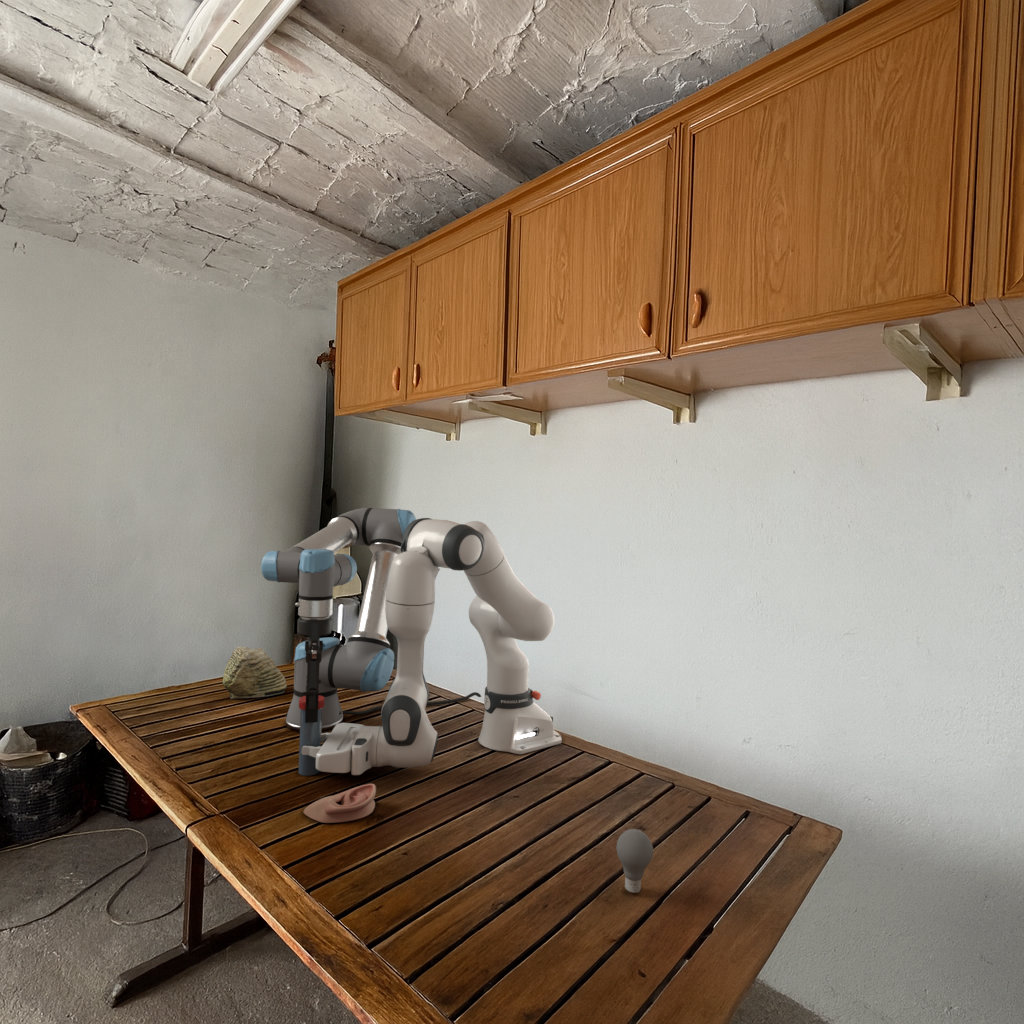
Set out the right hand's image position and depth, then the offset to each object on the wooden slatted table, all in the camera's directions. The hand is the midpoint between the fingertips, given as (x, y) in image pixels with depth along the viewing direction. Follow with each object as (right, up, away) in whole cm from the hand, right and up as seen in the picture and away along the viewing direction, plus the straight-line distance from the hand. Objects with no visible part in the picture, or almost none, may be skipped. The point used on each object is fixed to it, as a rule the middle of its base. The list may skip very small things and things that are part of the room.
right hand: (306, 744), depth 146 cm
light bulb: (+67, -10, -40) cm, 79 cm away
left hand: (+1, +6, 0) cm, 6 cm away
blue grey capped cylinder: (+1, -6, 0) cm, 6 cm away
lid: (+1, +10, 0) cm, 10 cm away
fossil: (-33, -4, +53) cm, 62 cm away
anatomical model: (+12, -7, -17) cm, 22 cm away
